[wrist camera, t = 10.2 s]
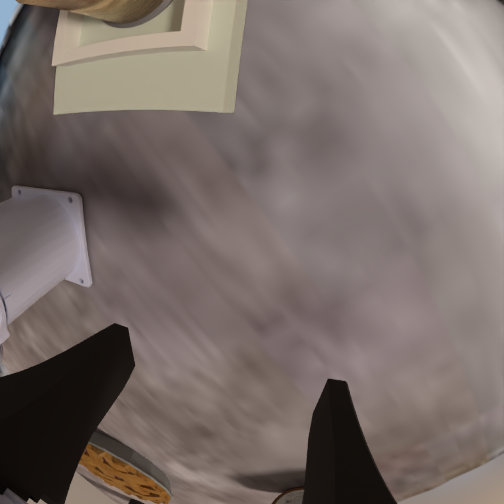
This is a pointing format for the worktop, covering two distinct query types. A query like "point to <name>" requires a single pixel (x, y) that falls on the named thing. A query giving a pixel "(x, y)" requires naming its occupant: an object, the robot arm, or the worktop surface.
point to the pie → (125, 469)
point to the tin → (290, 496)
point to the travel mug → (135, 502)
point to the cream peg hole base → (151, 59)
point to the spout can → (103, 8)
